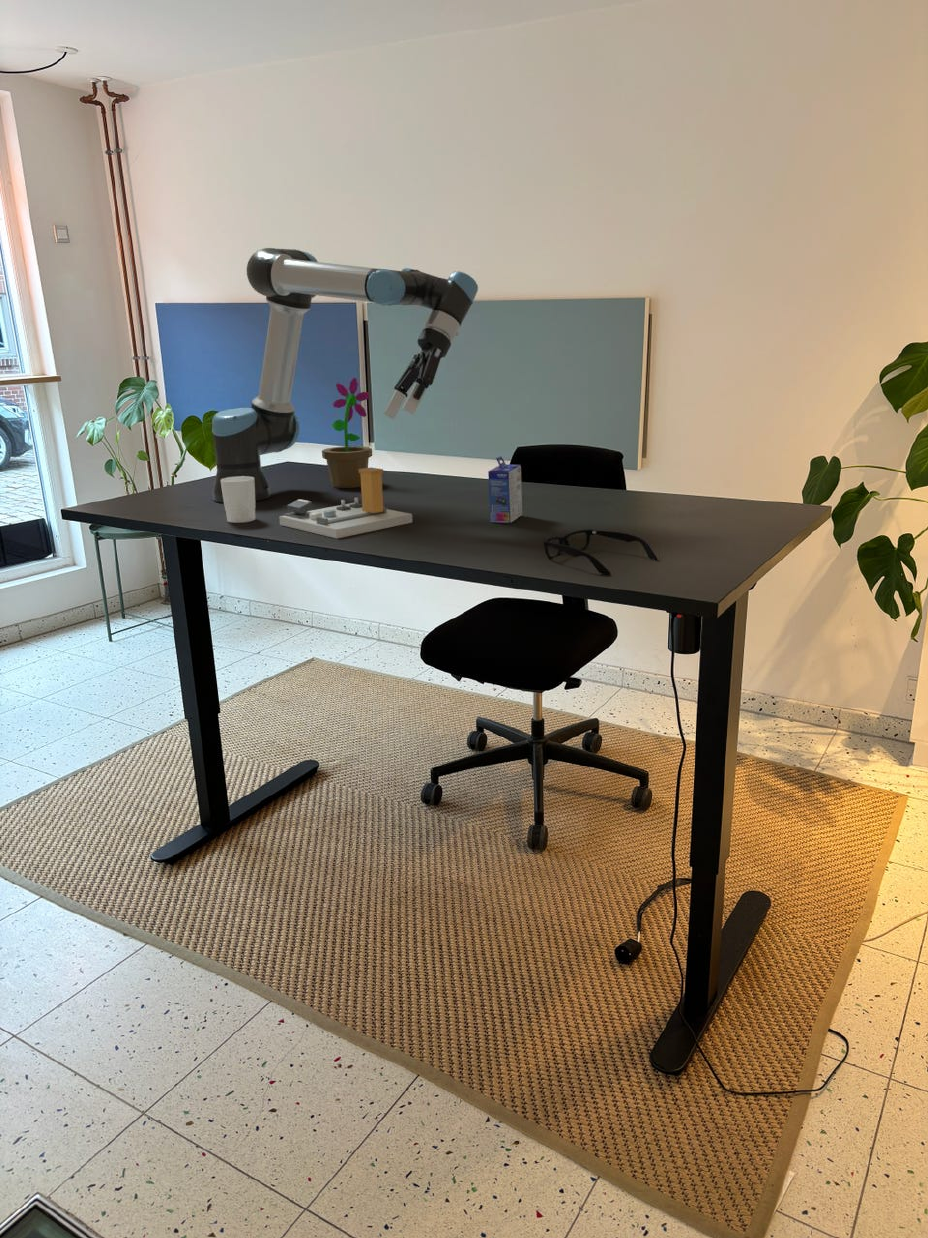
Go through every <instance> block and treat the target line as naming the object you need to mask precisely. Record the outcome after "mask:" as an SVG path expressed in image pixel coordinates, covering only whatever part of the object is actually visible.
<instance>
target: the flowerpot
mask: <svg viewBox="0 0 928 1238" xmlns="http://www.w3.org/2000/svg"><path fill="white" fill-rule="evenodd" d="M335 386H336V390H337V392H338V393H339V394H340V395H341V396H343V397H345V399H344V398H339V399H336V400H335V401H334V402H333V403H332V405H333V407H334V408H337V409H340V408H343V407H345V409H344V410H345V411H344V420H341V419H337V420H334V422H332V426H331V427H332V428H333V429H334V430H335V431H337V432H341V431H343V432H344V433H343V434H344V435H343V436H344V446H336V447H335V446H334V447H327V448H323V449H322V450H321V457H322V459H324V460H326V465H327V470H328V476H329V481H330V485H331V487H333V488H338V489H351V488H352V489H353V488H354V489H355V488H361V474H360V473H359V471H358V469H363V468H369V459H370V458H371V457H372V456H373V448H371V447H368V446H358V445H357V446H353V445H352V446H349V442H356V441H359V440H360V439H361V438H360V436H359V435H357V434H353V433H349V432H348V425H349V424H348V422H351V419H352V418H353V416H354V411H355V412H356V413H357V414H358V415H359V416H361V417H363V418H365V417H366V416H367V412H366V409H365V408H364V407H363V406H362V404H360V403H357V401H359V402H363V401H366V400H368V399H369V397H371V395H370V393H369V392H367V391H362V392H358V393H357V391H358V388H359V382H358V380H357V378H356V377H353V378H352V379H351V380H350V382H349V386H348V388H346V385H344V384H342V383H340V382H337V383H336V385H335ZM348 390H349V391H348ZM356 393H357V394H356ZM355 394H356V395H355ZM353 407H354V409H353Z"/></svg>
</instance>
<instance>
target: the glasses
mask: <svg viewBox="0 0 928 1238" xmlns="http://www.w3.org/2000/svg"><path fill="white" fill-rule="evenodd" d="M582 533H584V534H585V535H586V536H585V537H586V538H585V539H586V540H585V545H584V546H583V547H582V548H580V549H578V548H575V547H572V546H571V545H570V541H569V540H568V538H569V537H571V536H573V535H576V534H582ZM595 535H596V536H601V537H606V538H610V539H614V540H619V541H623V542H626V543H632V542H638V543H640V544H641V546H642V547H643V549H644V550H645V553H646V555H647V557H648V559H649V558H650V559H654V560H657V561H658V557H657V555H656V554H655V553H654V551H653V549H652V548H651V547H650V545H649V544H648V543H647V542H646V541H645V540H643V538H641V537H638V536H637V535H633V534H629V533H626V532H618V531H608V530H596V529H595V530H594V529H580V530H577V531H576V530H575V531H572V532H570V533H567V534H566V535H563V536H553V537H548V538H547V539H545V540H543V548H544V552H545V555H546V557H547V558H548V559H549V560H550V559H551V560H552V559H554V558H556V557H559V556H560V555H561V554H562V553H564V554H568V555H570V556H572V557H574V558H578V557H585V558H587V559H588V560H589V562H590V563H592V565H593V567H595V569H596V571H597V572H598V573H599V574H600V573H602V574H601V575H603V574H607V575H606V576H609V575H610V576H611V571H610V570H609V569H608V568H607V567H606V566H605V565H604V564H602V563H601V561H599V560H598V559H597V558H596V557H594V556H592V555H591V554H589V553H588V552H586V551H584V550H586V549H587V548H588V546H589V544H590V540H591V536H595ZM553 540H558V543H555V542H551V541H553ZM549 547H550V548H552V549H555V550H557V551H558V552H557V554H555V555H553V556H551V555H550V553H549V552H550V551H549ZM650 559H649V560H650ZM654 560H653V561H654Z"/></svg>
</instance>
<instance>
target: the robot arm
mask: <svg viewBox="0 0 928 1238" xmlns="http://www.w3.org/2000/svg"><path fill="white" fill-rule="evenodd" d="M246 276H247V280H248V282H249V284H250V286H251V288H252V289H253V290H254V291H255V292H257V293H258V294H259V295H262V296H264V297H265V300H266V302H267V303H268V306H269V307H270V311H269V319H268V325H267V332H266V338H265V339H266V340H265V348H264V353H263V361H262V369H261V376H260V384H259V392H258V395H257V396H256V397H255V398H253V399H252V401H251V406H250V407H237V408H232V409H231V408H230V409H226V410H222V411H219V412H217V413H215V414H214V415H213V417H212V421H211V422H212V427H211V428H212V429H211V432H212V438H213V445H214V446H213V448H214V456H215V465H216V474H215V480H214V484H213V488H212V500H213V501H215V502H217V503H224V501H223V494H222V487H221V481H220V480H221V479H223V478H228V477H237V476H249V477H254V481H255V502H256V501H257V502H258V501H262V500H263V501H264V500H266V499H268V498H270V497H271V491H270V490H271V489H270V487H269V484H268V482H267V479H266V477H265V474H264V472H263V470H262V465H261V456H263V455H268V454H273V453H275V454H276V453H281V452H283V451H286V450H288V449H290V448H291V447H293V446H294V444H295V443H296V442H297V440H298V438H299V435H300V422H299V421H298V417H297V415H296V414H295V410H296V409H295V407H294V406H293V405H294V404H292V402H291V397H292V396H291V395H292V390H293V384H294V377H295V373H296V372H295V370H296V364H297V359H298V358H297V357H298V352H299V345H300V340H301V331H302V328H303V327H302V326H303V319H304V314H306V313H308V311H310V310H311V306H312V300H313V298H315V297H317V296H318V297H326V298H327V297H329V298H335V299H344V300H351V301H352V300H353V301H360V302H367V303H374V304H378V305H381V306H399V305H400V306H420V307H422V308H426V309H429V310H432V311H431V313H430V314H429V316H428V318H427V320H426V322H425V324H424V328H423V329H422V331H421V333H420V334H419V336H418V339H417V340H416V341H417V342H416V343H417V345H418V347H420V348H421V351H420V353H417V354H414V355H413V357H412V359H411V361H410V363H409V364H408V365H407V367H406V369H404V372H403V374H402V375H401V376H400V378H399V379H398V381H397V383H396V384H395V385H394V387H393V389H394V390H395V391H394V393H393V395H392V397H391V399H390V400H389V402H388V405H387V406H386V408H385V410H384V413H383V414H384V415H385V416H387V417H389V418H390V419H392V420H395V419H396V417H397V414H398V413H399V411H400V408H401V407H402V405H403V403H404V401H405V399H406V401H405V403H404V405H403V407H402V410H404V411H406V412H407V413H408V414H410V415H413V416H414V414H415V412H416V410H417V409H418V406H419V404H420V403H421V400H422V398H423V396H424V394H425V392H426V391H427V389H429V387H430V386H432V385H433V383H434V381H435V377H436V374H437V370H438V368H439V364H440V362H441V359H442V358H445V357H446V356H447V354H448V352H449V350H450V348H451V346H452V342H453V341H454V340H455V337H458V336H459V335H460V333H459V332H458V331H459V329H460V328H461V326H462V324H463V322H464V320H465V317H466V316H467V314H468V312H469V310H470V308H471V306H472V305H473V304H474V300H475V298H476V296H477V293H478V290H479V285H478V284H477V281H476V280H475V279H474V278H473V277H472V276H471V275H469V274H467V273H465V272H462V271H453V272H452V273H451V274H450V275H449V276H448V278H444V277H439V276H436V275H433V274H429V273H426V272H424V271H421V270H419V269H413V268H408V267H406V268H405V267H404V268H402V270H393V269H386V268H385V269H384V268H375V267H374V268H373V267H365V266H357V265H356V266H355V265H347V264H338V263H329V262H322V261H321V262H320V261H318V260H317V259H316V257H315V256H313V255H312V254H311V253H309V252H307V251H303V250H299V249H293V248H292V249H290V248H288V249H287V248H275V247H274V248H273V247H265V248H261V249H259V250H258V249H257V251H256V252H254V253H253V254H252V255H251V256H250V258H249V259H248V262H247V264H246ZM412 386H413V387H412ZM411 387H412V389H411ZM410 389H411V391H410V393H409V395H408V391H409V390H410Z"/></svg>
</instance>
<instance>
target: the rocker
mask: <svg viewBox="0 0 928 1238" xmlns="http://www.w3.org/2000/svg"><path fill="white" fill-rule="evenodd" d="M286 506H287V510H288V511H289V512H297V513H303V512H305V511H310V509H313V508H314V505H313V502H312V501H311V500H307V499H306V500H305V499H300V498H299V499H296V500H295V501H293V502H290V503H289V504H287V505H286Z"/></svg>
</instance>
